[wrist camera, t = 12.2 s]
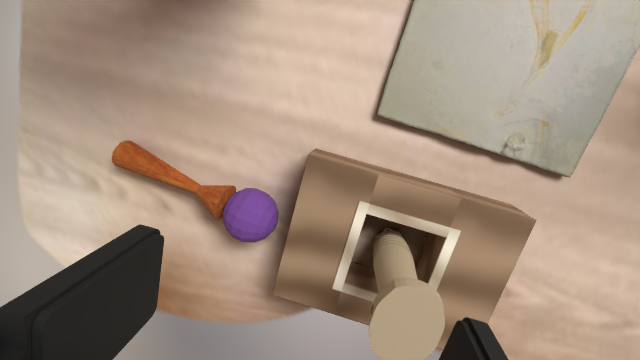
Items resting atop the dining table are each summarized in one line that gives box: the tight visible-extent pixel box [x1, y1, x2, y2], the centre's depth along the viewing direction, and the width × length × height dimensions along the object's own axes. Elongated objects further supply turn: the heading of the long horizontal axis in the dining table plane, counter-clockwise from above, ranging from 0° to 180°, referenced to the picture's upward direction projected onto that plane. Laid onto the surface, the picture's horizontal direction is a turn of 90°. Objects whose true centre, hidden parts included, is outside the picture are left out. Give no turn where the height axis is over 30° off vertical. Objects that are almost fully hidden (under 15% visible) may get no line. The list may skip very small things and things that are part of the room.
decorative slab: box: [377, 0, 640, 177], centre depth 29 cm, size 27×21×2 cm
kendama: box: [112, 141, 278, 242], centre depth 35 cm, size 6×6×20 cm
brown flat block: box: [272, 149, 536, 349], centre depth 33 cm, size 16×22×5 cm
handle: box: [369, 228, 445, 360], centre depth 29 cm, size 5×6×15 cm
